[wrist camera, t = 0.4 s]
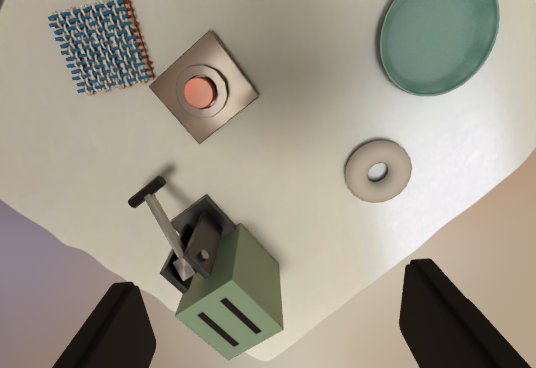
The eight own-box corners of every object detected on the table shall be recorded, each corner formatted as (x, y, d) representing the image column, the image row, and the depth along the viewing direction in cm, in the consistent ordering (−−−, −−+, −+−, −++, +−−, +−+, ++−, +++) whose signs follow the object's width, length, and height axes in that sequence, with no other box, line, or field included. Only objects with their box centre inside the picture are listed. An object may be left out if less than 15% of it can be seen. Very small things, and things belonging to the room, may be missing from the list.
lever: (136, 198, 42) (123, 199, 40) (164, 175, 40) (153, 175, 38) (182, 282, 39) (172, 288, 37) (214, 261, 38) (206, 265, 36)
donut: (395, 199, 47) (413, 141, 43) (404, 209, 44) (425, 147, 40) (336, 194, 46) (349, 134, 42) (341, 203, 43) (356, 140, 39)
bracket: (171, 220, 48) (140, 270, 36) (206, 194, 46) (186, 237, 34) (203, 251, 50) (184, 307, 38) (237, 227, 48) (229, 278, 37)
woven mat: (159, 81, 39) (153, 82, 37) (87, 96, 40) (79, 97, 38) (131, -5, 35) (123, -9, 34) (53, 13, 36) (41, 10, 34)
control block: (154, 85, 40) (142, 87, 36) (212, 32, 37) (206, 27, 33) (202, 140, 43) (196, 147, 39) (259, 94, 40) (258, 97, 36)
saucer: (508, 19, 37) (525, 16, 34) (426, 115, 42) (437, 117, 39) (429, -58, 34) (442, -68, 31) (350, 54, 38) (356, 53, 36)
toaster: (197, 252, 50) (174, 316, 37) (240, 222, 48) (231, 279, 35) (237, 290, 54) (228, 361, 41) (278, 264, 51) (283, 330, 38)
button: (182, 89, 36) (177, 90, 34) (202, 71, 36) (199, 71, 34) (201, 111, 37) (197, 114, 36) (221, 94, 37) (219, 96, 35)
